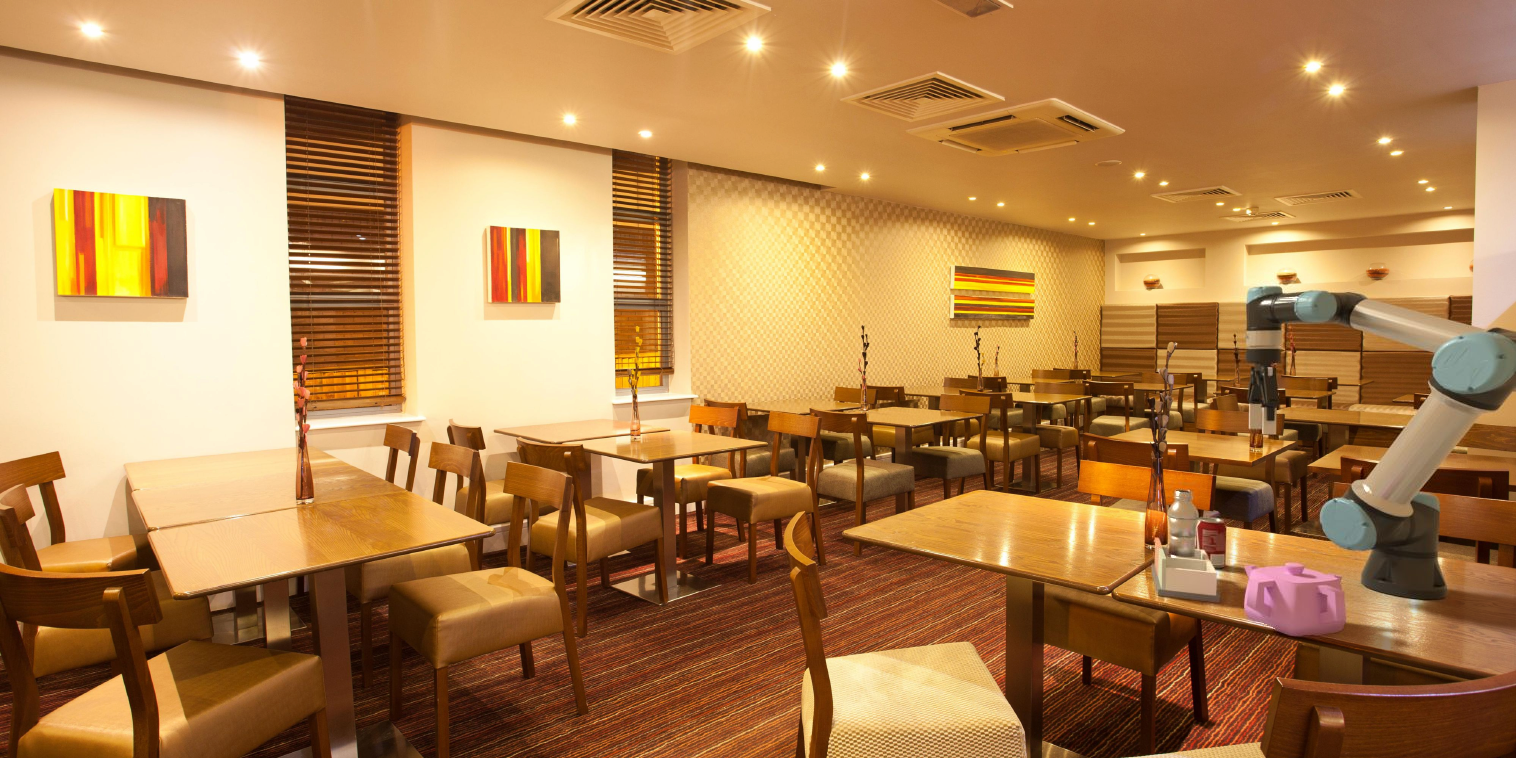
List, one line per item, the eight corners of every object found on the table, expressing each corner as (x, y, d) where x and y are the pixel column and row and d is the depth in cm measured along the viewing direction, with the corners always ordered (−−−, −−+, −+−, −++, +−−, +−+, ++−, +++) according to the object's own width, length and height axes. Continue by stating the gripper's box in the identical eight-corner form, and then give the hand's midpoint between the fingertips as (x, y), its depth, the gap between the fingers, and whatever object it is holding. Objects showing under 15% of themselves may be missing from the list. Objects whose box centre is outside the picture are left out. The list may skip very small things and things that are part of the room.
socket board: (1206, 576, 185) (1207, 542, 185) (1219, 602, 166) (1220, 564, 166) (1151, 570, 190) (1152, 537, 190) (1157, 595, 171) (1158, 558, 171)
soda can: (1229, 570, 190) (1231, 522, 190) (1200, 568, 192) (1201, 521, 191) (1219, 562, 197) (1220, 516, 196) (1190, 561, 198) (1191, 515, 198)
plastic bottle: (1159, 571, 185) (1161, 489, 184) (1181, 568, 187) (1183, 488, 186) (1181, 579, 178) (1183, 494, 177) (1204, 576, 180) (1205, 492, 179)
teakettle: (1245, 630, 151) (1247, 568, 150) (1242, 604, 166) (1243, 548, 165) (1353, 647, 142) (1355, 581, 142) (1339, 618, 157) (1341, 559, 156)
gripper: (1235, 348, 206) (1233, 426, 206) (1258, 347, 182) (1257, 436, 183) (1267, 347, 203) (1266, 427, 204) (1295, 347, 180) (1294, 437, 180)
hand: (1261, 431), depth 193 cm, fingers open, 13 cm apart
